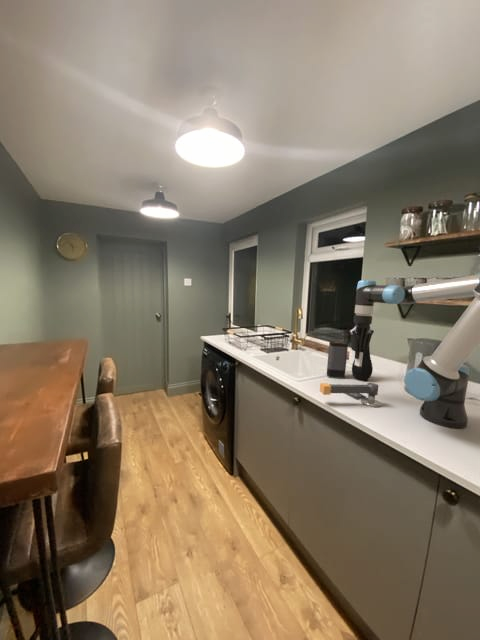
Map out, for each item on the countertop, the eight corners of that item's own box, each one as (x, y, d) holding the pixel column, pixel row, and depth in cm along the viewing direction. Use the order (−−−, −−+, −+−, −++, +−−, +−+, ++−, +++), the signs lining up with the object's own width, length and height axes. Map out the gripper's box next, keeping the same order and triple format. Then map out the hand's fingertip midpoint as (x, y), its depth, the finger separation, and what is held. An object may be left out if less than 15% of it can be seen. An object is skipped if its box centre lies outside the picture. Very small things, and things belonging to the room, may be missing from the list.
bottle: (347, 378, 154) (352, 325, 150) (355, 374, 161) (361, 324, 157) (366, 383, 146) (372, 328, 142) (374, 379, 153) (380, 326, 150)
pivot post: (385, 406, 118) (386, 396, 117) (371, 408, 114) (372, 398, 114) (369, 398, 125) (370, 389, 124) (356, 400, 122) (357, 391, 121)
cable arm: (373, 391, 122) (374, 382, 121) (379, 395, 117) (380, 386, 117) (319, 391, 118) (320, 382, 118) (323, 395, 114) (324, 386, 114)
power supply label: (366, 398, 125) (366, 396, 125) (356, 399, 123) (356, 398, 123) (353, 391, 133) (353, 390, 133) (343, 393, 130) (343, 391, 130)
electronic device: (342, 375, 157) (345, 341, 155) (345, 379, 152) (348, 343, 149) (325, 374, 158) (329, 340, 156) (328, 377, 152) (331, 342, 150)
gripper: (367, 314, 129) (362, 362, 132) (346, 313, 124) (341, 364, 127) (380, 315, 123) (375, 367, 125) (359, 315, 117) (353, 368, 120)
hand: (358, 365), depth 126 cm, fingers closed
